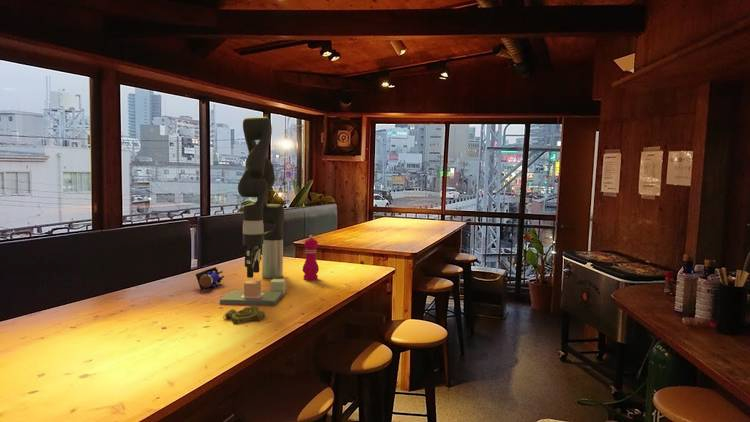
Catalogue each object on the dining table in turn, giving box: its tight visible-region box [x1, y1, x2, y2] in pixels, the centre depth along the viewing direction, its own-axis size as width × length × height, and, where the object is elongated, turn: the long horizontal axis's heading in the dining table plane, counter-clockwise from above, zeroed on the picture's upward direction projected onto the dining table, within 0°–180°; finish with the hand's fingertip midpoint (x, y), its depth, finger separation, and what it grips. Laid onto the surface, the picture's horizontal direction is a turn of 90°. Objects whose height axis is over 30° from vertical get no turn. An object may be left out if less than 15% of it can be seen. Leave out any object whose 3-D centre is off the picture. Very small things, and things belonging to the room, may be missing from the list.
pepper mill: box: [302, 234, 320, 281], centre depth 221 cm, size 7×7×20 cm
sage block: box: [269, 278, 287, 295], centre depth 196 cm, size 5×5×5 cm
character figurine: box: [195, 266, 225, 291], centre depth 203 cm, size 8×7×15 cm
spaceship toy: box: [222, 305, 266, 325], centre depth 164 cm, size 12×18×4 cm
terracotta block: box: [243, 280, 262, 297], centre depth 184 cm, size 5×5×5 cm
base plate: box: [219, 289, 284, 306], centre depth 185 cm, size 14×20×2 cm
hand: (253, 274), depth 184 cm, fingers open, 8 cm apart
